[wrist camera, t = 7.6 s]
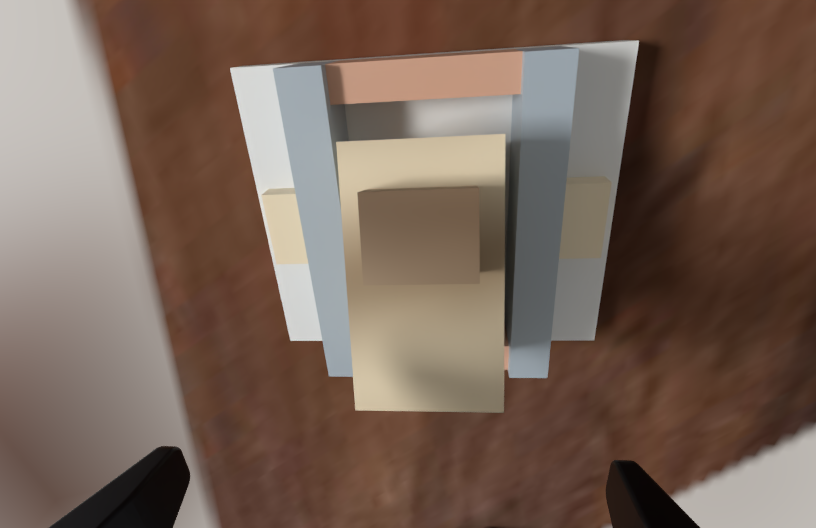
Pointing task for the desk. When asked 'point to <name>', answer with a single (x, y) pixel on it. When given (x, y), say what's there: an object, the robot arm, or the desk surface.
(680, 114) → the desk surface
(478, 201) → the stepped cream block
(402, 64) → the jig
